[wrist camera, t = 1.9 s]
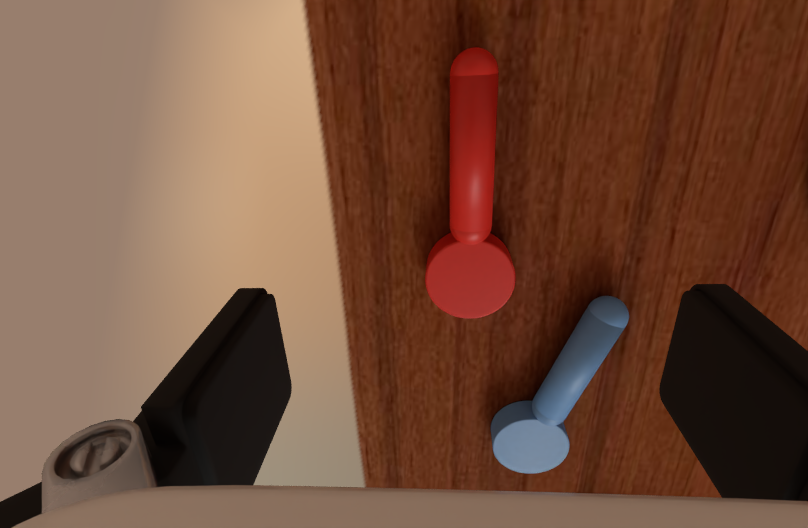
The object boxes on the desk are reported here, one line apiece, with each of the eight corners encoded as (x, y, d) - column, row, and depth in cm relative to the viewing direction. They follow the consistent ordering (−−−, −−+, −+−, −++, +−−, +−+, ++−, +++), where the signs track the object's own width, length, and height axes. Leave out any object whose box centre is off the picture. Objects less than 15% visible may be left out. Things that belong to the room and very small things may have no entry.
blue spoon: (571, 276, 21) (581, 295, 20) (649, 302, 21) (666, 323, 20) (479, 441, 26) (481, 467, 25) (544, 461, 26) (550, 488, 25)
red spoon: (421, 49, 18) (418, 49, 16) (526, 44, 17) (534, 44, 16) (427, 303, 22) (425, 323, 21) (509, 304, 22) (514, 324, 20)
